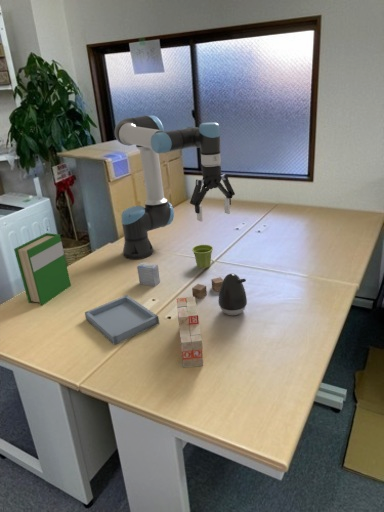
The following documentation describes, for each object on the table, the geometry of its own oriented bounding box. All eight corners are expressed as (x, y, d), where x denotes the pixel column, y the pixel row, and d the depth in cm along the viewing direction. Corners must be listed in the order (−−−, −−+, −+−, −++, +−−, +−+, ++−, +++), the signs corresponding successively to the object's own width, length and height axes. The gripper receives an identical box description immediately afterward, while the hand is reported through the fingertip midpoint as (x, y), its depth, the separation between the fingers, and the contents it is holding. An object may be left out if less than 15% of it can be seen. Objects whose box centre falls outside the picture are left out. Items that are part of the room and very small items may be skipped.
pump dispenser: (240, 321, 140) (238, 283, 134) (214, 315, 146) (211, 277, 140) (252, 308, 148) (251, 271, 142) (227, 302, 153) (225, 266, 147)
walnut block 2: (211, 287, 165) (211, 279, 163) (220, 285, 166) (220, 277, 164) (215, 292, 162) (215, 283, 160) (224, 289, 163) (224, 281, 161)
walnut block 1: (192, 296, 159) (192, 287, 158) (198, 292, 162) (197, 283, 161) (201, 299, 157) (200, 290, 155) (206, 294, 160) (206, 286, 158)
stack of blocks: (203, 366, 120) (201, 331, 115) (183, 368, 120) (179, 334, 115) (197, 326, 140) (194, 295, 135) (179, 328, 140) (176, 297, 135)
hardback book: (42, 305, 162) (28, 250, 152) (28, 302, 165) (13, 248, 155) (71, 285, 176) (59, 234, 167) (57, 283, 179) (46, 233, 169)
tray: (86, 319, 149) (84, 312, 148) (127, 301, 159) (126, 294, 158) (114, 344, 133) (113, 337, 132) (159, 323, 143) (158, 316, 142)
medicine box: (160, 282, 173) (158, 263, 169) (155, 286, 169) (153, 268, 166) (144, 279, 176) (142, 261, 173) (139, 284, 173) (136, 266, 169)
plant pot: (212, 270, 179) (211, 252, 176) (191, 270, 181) (190, 252, 178) (215, 261, 188) (214, 244, 184) (195, 261, 190) (194, 244, 186)
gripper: (188, 171, 147) (192, 226, 156) (242, 160, 159) (243, 212, 167) (178, 168, 153) (183, 221, 162) (231, 158, 164) (232, 208, 173)
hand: (213, 216), depth 164 cm, fingers open, 13 cm apart
